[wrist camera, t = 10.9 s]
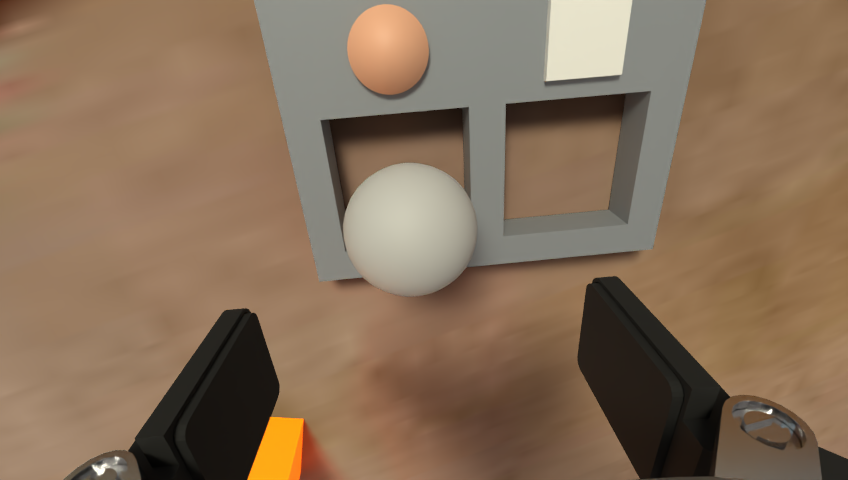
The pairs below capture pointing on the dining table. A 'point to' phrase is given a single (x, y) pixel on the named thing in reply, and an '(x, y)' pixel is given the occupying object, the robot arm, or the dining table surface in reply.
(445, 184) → the lightbulb
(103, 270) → the dining table surface
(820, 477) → the robot arm
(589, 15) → the socket board
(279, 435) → the orange juice
